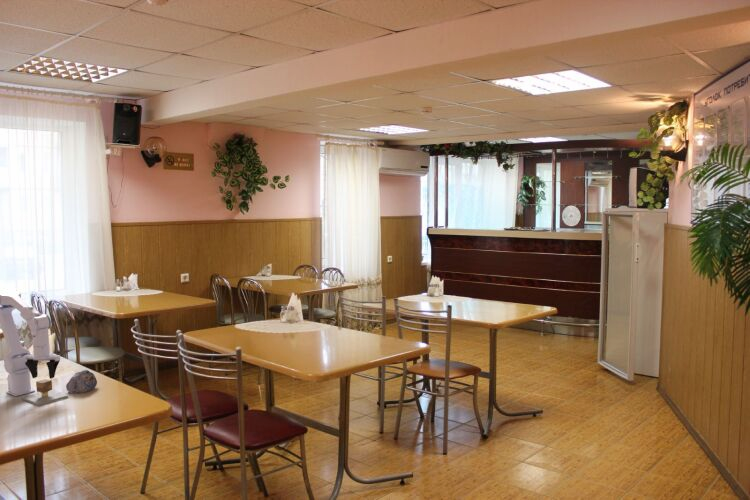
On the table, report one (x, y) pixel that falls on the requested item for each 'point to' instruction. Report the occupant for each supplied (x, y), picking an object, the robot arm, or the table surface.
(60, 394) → the plate
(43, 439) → the table surface
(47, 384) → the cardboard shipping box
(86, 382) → the rock
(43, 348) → the robot arm
